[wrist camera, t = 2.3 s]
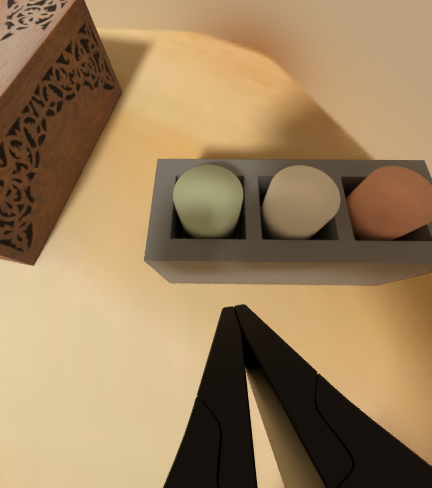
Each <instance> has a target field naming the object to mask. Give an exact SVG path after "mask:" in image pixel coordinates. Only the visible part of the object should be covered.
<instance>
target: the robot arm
mask: <svg viewBox="0 0 432 488" xmlns="http://www.w3.org/2000/svg"><path fill="white" fill-rule="evenodd" d="M246 373H247V376H248V379H249V382H250V385H251V388H252V391H253V394H254V397H255V400H256V403H257V406H258V409H259V412H260V415H261V418H262V421H263V424H264V427H265V430H266V433H267V436H268V439H269V442H270V445H271V448H272V450H273V453H274V456H275V459H276V462H277V465H278V468H279V471H280V474H281V477H282V480H283V483H284V486H285V488H432V466H431V465H429V464H428V463H427V462H426V461H424V460H423V459H422V458H421V457H419V456H418V455H417V454H415V453H414V452H413V451H412V450H410V449H409V448H408V447H407V446H405V445H404V444H403V443H401V442H400V441H399V440H398V439H396V438H395V437H394V436H393V435H391V434H390V433H389V432H387V431H386V430H385V429H384V428H382V427H381V426H380V425H379V424H377V423H376V422H375V421H374V420H372V419H371V418H370V417H369V416H367V415H366V414H365V413H364V412H362V411H361V410H360V409H359V408H358V407H356V406H355V405H354V404H353V403H351V402H350V401H349V400H348V399H347V398H346V397H344V396H343V395H342V394H341V393H340V392H339V391H338V390H337V389H335V388H334V387H333V386H332V385H331V384H330V383H329V382H328V381H327V380H326V379H325V378H324V377H322V376H321V375H320V374H317V371H316V370H315V369H314V368H313V367H312V366H311V365H309V364H308V363H307V362H306V361H305V360H304V359H303V358H302V357H301V356H300V355H299V354H298V353H297V352H295V351H294V350H293V349H292V348H291V347H290V346H289V345H288V344H287V343H286V342H285V341H284V340H283V339H282V338H280V337H279V336H278V335H277V334H276V333H275V332H274V331H273V330H272V329H271V328H270V327H269V326H268V325H267V324H265V323H264V322H263V321H262V320H261V319H260V318H259V317H258V316H257V315H256V314H255V313H254V312H253V311H251V310H250V309H249V308H248V307H247V306H246V305H244V304H242V305H236V306H234V307H233V306H231V307H225V308H223V309H222V312H221V315H220V318H219V322H218V325H217V328H216V332H215V335H214V339H213V342H212V345H211V349H210V352H209V355H208V359H207V362H206V366H205V369H204V372H203V376H202V379H201V383H200V386H199V389H198V393H197V397H196V399H195V402H194V406H193V409H192V412H191V415H190V418H189V422H188V425H187V428H186V431H185V434H184V436H183V439H182V441H181V444H180V447H179V449H178V452H177V455H176V457H175V460H174V462H173V465H172V467H171V469H170V472H169V474H168V477H167V479H166V482H165V484H164V486H163V488H258V487H257V477H256V468H255V458H254V448H253V438H252V429H251V419H250V409H249V399H248V390H247V380H246Z"/></svg>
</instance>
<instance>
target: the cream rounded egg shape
mask: <svg viewBox="0 0 432 488" xmlns="http://www.w3.org/2000/svg"><path fill="white" fill-rule="evenodd" d="M339 206H340V193H339V190H338V188H337V186H336V184H335V183H334V181H333V180H332V179H331V178H330V177H329V176H328V175H327V174H325V173H324V172H322V171H320V170H318V169H316V168H313V167H310V166H303V165H296V166H290V167H287V168H285V169H283V170H281V171H279V172H278V173H277V174H276V175H275V176H274V177H273V179H272V181H271V183H270V185H269V188H268V191H267V193H266V196H265V199H264V201H263V204H262V207H261V210H260V217H261V233H262V239H263V240H309V239H310V238H311V237H312V236H313V235H314V234H315V233H316V232H318V231H319V230H320V229H321V228H322V227H323V226H324V225H325V224H326V223H327V222H328V221H329V220H331V219H332V218H333V217H334V216H335V214H336V213H337V211H338V209H339Z"/></svg>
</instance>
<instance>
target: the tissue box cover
mask: <svg viewBox="0 0 432 488" xmlns="http://www.w3.org/2000/svg"><path fill="white" fill-rule="evenodd" d="M121 94H122V90H121V88H120V85H119V83H118V81H117V78H116V76H115V73H114V71H113V69H112V66H111V64H110V61H109V59H108V56H107V54H106V52H105V49H104V47H103V44H102V42H101V40H100V37H99V35H98V32H97V30H96V27H95V25H94V23H93V21H92V18H91V15H90V13H89V10H88V8H87V6H86V3H85V1H84V0H0V259H3V260H8V261H13V262H18V263H22V264H27V265H32V266H34V264H35V262H36V260H37V258H38V256H39V255H40V253H41V251H42V249H43V247H44V245H45V243H46V241H47V239H48V237H49V235H50V233H51V231H52V229H53V227H54V225H55V223H56V221H57V219H58V217H59V215H60V213H61V211H62V209H63V207H64V205H65V204H66V202H67V200H68V198H69V196H70V194H71V192H72V190H73V188H74V186H75V184H76V182H77V180H78V178H79V176H80V174H81V172H82V170H83V168H84V166H85V164H86V162H87V160H88V158H89V156H90V155H91V153H92V151H93V149H94V147H95V145H96V143H97V141H98V139H99V137H100V135H101V133H102V131H103V129H104V127H105V125H106V123H107V121H108V119H109V117H110V115H111V113H112V111H113V109H114V107H115V105H116V104H117V102H118V100H119V98H120V96H121Z"/></svg>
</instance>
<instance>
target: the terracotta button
mask: <svg viewBox="0 0 432 488" xmlns="http://www.w3.org/2000/svg"><path fill="white" fill-rule="evenodd" d="M345 199H346V203H347V207H348V212H349V216H350V221H351V225H352V230H353V234H354V239H355V241H392V240H394V239H397V238H399V237H401V236H403V235H405V234H407V233H409V232H411V231H413V230H415V229H417V228H420V227H422V226H424V225H426V224H428V223H430V222H431V221H432V185H431V184H430V183H429V182H428V181H427V180H426V179H425V178H424V177H423V176H421V175H420V174H418V173H416V172H414V171H412V170H410V169H407V168H404V167H399V166H385V167H381V168H378V169H376V170H375V171H373V172H372V173H371V174H370V175H369V176H368V177H367V178H366V179H365V180H364V181H363V182H362V183H361V184H360V185H359V186H358V187H356V188H355V189H354V190H353V191H352V192H351V193H350V194H349V195H348V196H347V197H346V198H345Z"/></svg>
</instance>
